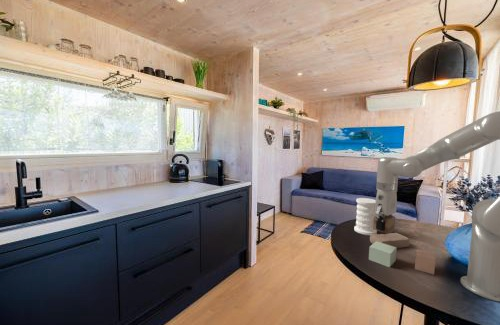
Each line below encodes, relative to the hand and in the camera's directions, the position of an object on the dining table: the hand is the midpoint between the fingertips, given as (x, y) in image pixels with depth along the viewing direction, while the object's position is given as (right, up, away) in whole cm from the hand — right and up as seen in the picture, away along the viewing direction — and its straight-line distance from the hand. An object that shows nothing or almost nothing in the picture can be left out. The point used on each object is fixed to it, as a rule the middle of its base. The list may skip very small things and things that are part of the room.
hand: (383, 227), depth 95 cm
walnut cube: (0, -1, 0) cm, 1 cm away
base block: (0, -14, +1) cm, 15 cm away
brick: (+12, -14, +16) cm, 24 cm away
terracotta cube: (+13, -15, -5) cm, 21 cm away
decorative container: (+9, -12, +33) cm, 36 cm away
